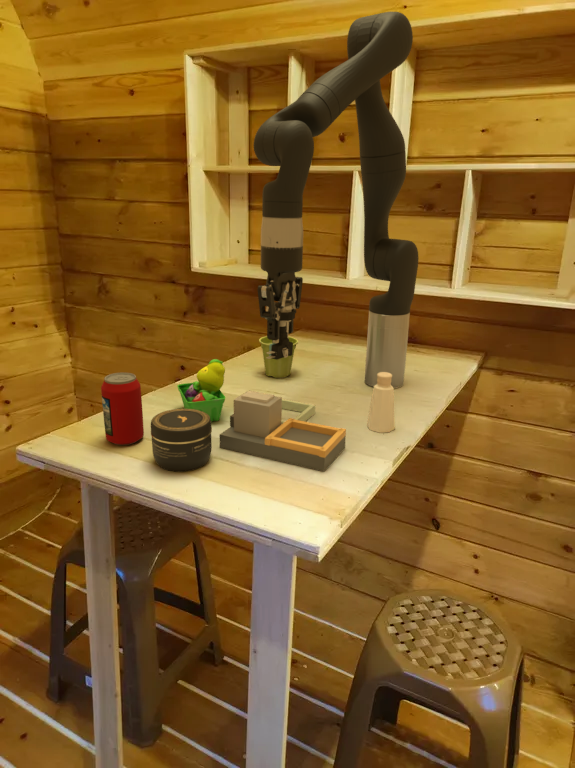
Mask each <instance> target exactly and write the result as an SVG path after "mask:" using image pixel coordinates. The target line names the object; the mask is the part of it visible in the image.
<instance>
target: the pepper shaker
mask: <svg viewBox="0 0 575 768" xmlns="http://www.w3.org/2000/svg"><path fill="white" fill-rule="evenodd" d="M377 377H378V378H377V385H375V386H374V387H373V389H372V395H371V399H370V406H369V411H368V416H367V421H366V426H367V428H368V429H369V430H370V431H371V432H372V431H373V432H374V433H379V434H380V433H383V434H384V433H390V432H392V431H393V430H395V429H396V428H395V427H396V424H395V423H396V422H395V388H393V387H392V386H391V378H392V374H390V373H388V372H380V373H378V374H377Z"/></svg>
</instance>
